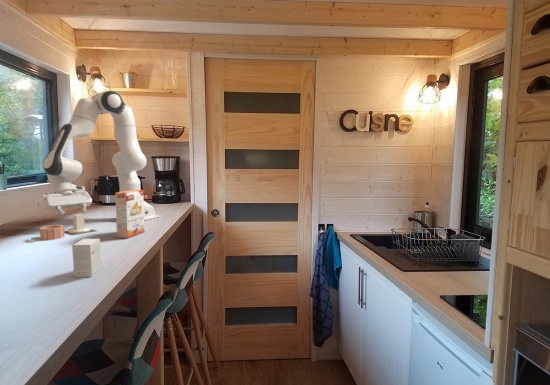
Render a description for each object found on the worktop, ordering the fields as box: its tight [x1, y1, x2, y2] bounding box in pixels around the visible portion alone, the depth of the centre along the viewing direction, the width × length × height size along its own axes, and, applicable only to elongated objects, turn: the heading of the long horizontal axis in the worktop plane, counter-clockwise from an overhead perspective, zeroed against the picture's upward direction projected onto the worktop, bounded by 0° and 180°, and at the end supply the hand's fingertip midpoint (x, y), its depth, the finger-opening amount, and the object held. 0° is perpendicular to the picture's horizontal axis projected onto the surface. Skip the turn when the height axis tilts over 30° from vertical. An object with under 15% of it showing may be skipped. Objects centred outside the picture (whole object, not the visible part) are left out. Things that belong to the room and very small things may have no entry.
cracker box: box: [115, 189, 145, 239], centre depth 167 cm, size 14×6×21 cm, turn 168°
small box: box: [71, 238, 102, 278], centre depth 116 cm, size 8×6×10 cm
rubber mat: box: [64, 228, 98, 236], centre depth 172 cm, size 12×12×1 cm
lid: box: [66, 213, 92, 235], centre depth 172 cm, size 10×10×8 cm
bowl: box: [39, 224, 66, 241], centre depth 160 cm, size 9×9×5 cm
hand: (74, 213), depth 174 cm, fingers open, 8 cm apart
